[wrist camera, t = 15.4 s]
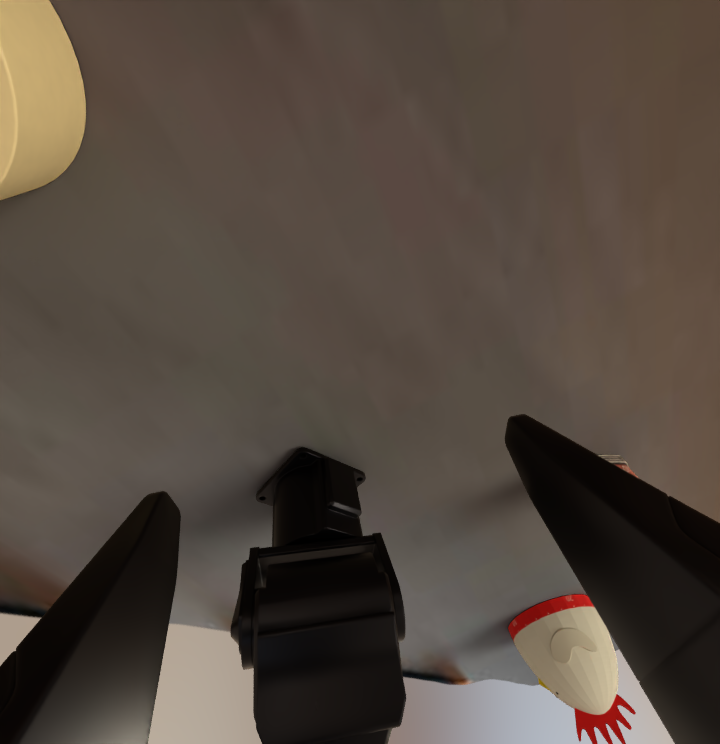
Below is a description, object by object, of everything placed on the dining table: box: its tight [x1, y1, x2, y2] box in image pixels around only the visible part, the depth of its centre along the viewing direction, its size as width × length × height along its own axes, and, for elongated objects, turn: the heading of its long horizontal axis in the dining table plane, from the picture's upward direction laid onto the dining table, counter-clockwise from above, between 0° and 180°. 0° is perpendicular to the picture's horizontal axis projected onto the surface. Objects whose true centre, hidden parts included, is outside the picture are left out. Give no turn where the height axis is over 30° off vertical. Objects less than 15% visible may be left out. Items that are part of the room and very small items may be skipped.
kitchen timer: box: [508, 594, 635, 744], centre depth 53 cm, size 14×14×15 cm
